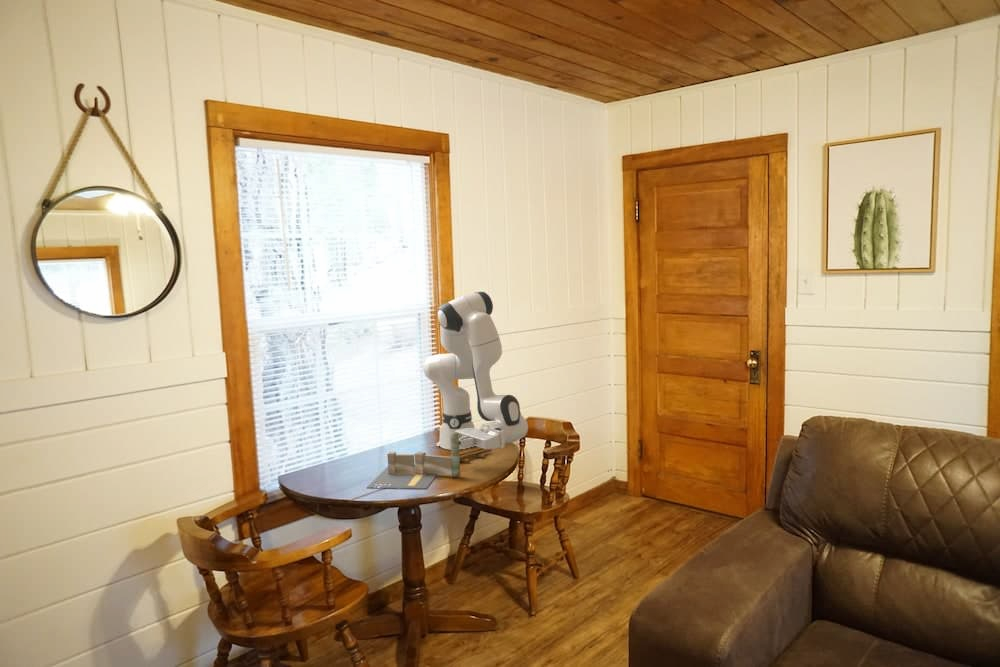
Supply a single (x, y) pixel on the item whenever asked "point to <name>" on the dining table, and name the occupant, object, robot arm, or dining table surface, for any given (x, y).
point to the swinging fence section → (440, 460)
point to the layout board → (403, 480)
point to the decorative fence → (472, 454)
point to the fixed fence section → (400, 463)
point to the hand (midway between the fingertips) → (458, 442)
